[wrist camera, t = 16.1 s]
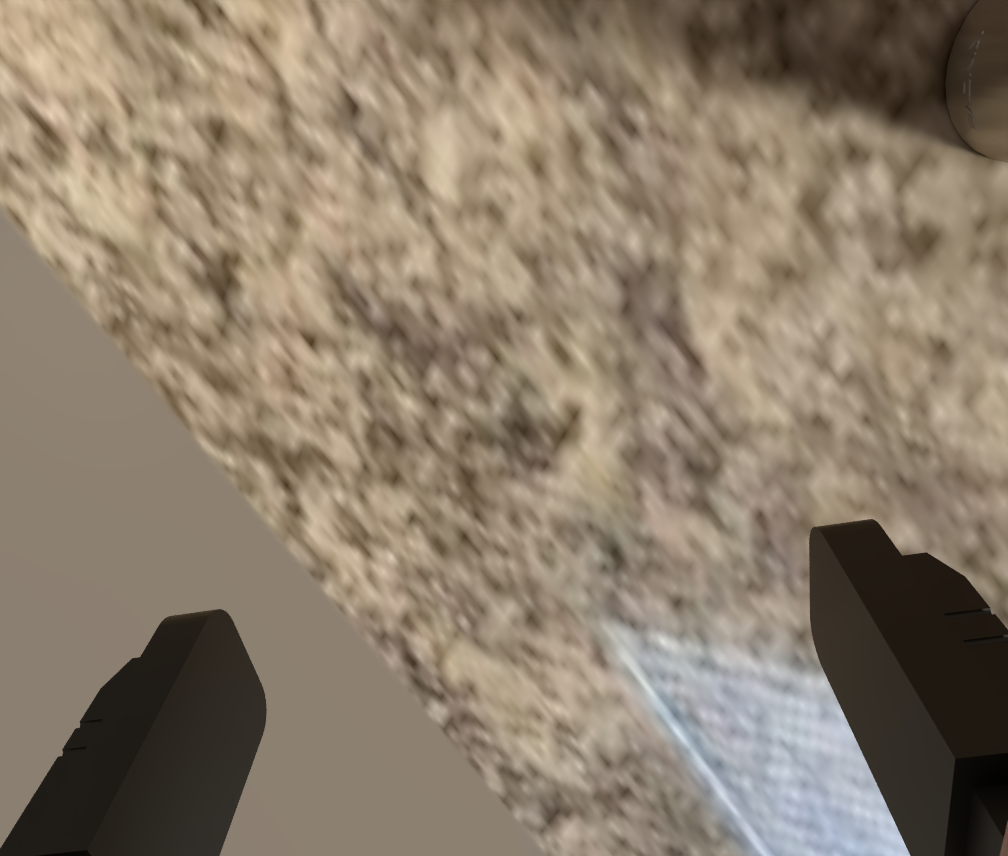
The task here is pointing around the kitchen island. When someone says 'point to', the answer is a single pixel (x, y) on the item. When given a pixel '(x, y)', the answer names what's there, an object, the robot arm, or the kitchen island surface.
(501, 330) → the kitchen island surface
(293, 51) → the kitchen island surface
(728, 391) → the kitchen island surface
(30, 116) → the kitchen island surface
